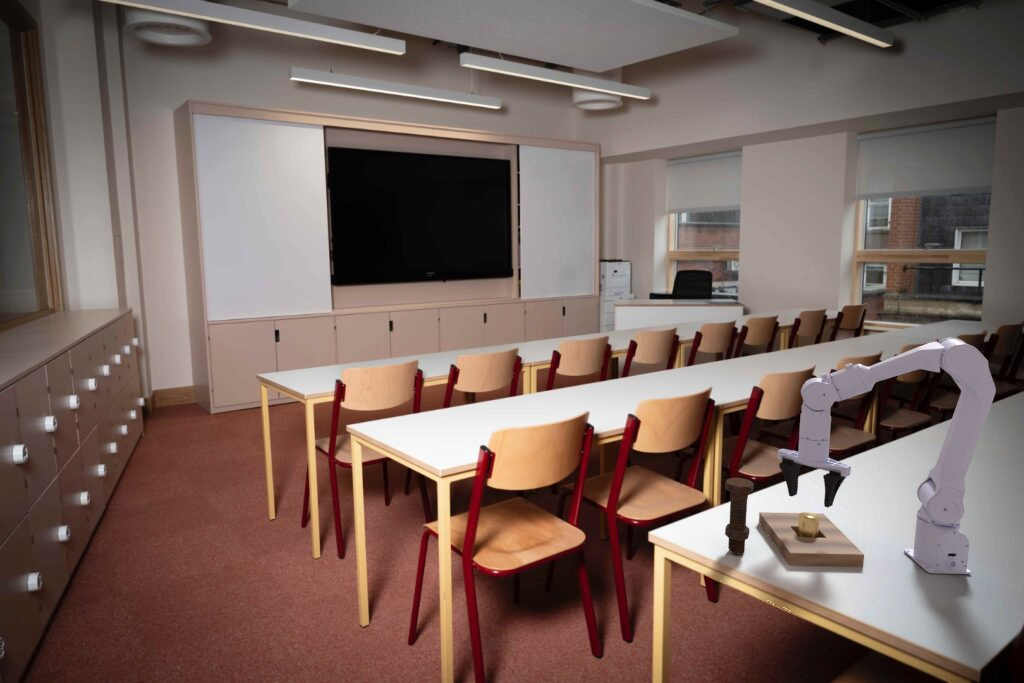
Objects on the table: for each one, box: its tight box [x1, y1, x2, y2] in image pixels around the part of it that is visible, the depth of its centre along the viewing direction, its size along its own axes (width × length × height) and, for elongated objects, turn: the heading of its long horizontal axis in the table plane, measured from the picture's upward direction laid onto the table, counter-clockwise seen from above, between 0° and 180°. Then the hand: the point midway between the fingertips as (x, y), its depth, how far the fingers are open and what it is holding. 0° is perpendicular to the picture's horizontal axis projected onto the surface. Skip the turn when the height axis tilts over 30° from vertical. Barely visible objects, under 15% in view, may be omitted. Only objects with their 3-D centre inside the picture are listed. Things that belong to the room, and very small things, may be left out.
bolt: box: [724, 477, 755, 556], centre depth 138 cm, size 6×5×15 cm
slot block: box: [758, 511, 865, 568], centre depth 143 cm, size 20×14×2 cm
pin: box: [798, 512, 820, 538], centre depth 143 cm, size 4×4×6 cm
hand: (810, 500), depth 142 cm, fingers open, 7 cm apart
